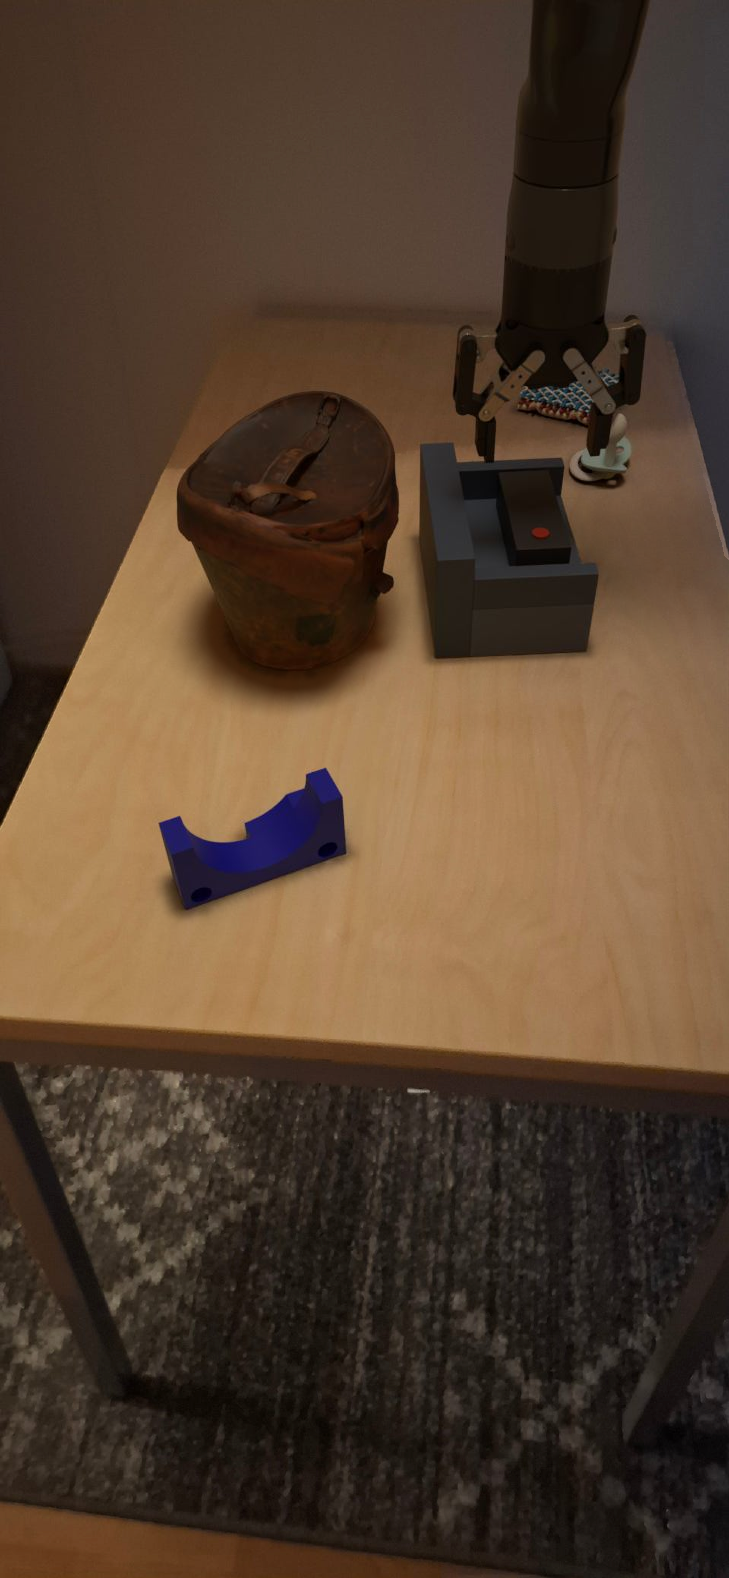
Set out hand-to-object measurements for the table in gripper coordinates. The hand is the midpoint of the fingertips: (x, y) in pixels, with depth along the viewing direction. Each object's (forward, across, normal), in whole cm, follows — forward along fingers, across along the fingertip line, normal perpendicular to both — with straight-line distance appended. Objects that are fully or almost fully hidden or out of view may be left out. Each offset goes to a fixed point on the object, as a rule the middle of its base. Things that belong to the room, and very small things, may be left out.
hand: (540, 455), depth 85 cm
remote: (+9, 0, 0) cm, 9 cm away
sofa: (+14, +3, 0) cm, 14 cm away
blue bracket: (+14, +24, +30) cm, 40 cm away
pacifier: (+14, -10, -20) cm, 27 cm away
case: (+14, +21, +4) cm, 25 cm away
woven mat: (+14, -10, -35) cm, 39 cm away
